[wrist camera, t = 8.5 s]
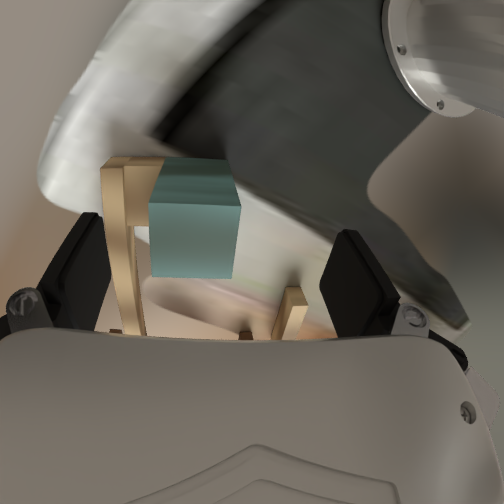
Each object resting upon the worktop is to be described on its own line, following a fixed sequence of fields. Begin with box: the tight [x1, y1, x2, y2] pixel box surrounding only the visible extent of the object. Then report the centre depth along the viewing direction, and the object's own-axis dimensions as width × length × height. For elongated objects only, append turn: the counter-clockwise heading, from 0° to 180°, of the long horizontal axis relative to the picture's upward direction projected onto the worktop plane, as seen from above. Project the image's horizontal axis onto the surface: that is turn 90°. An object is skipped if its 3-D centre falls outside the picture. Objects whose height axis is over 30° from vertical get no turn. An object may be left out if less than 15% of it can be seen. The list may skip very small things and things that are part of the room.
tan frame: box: [100, 157, 241, 336], centre depth 21 cm, size 22×10×7 cm, turn 171°
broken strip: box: [271, 287, 308, 340], centre depth 31 cm, size 21×1×2 cm, turn 171°
